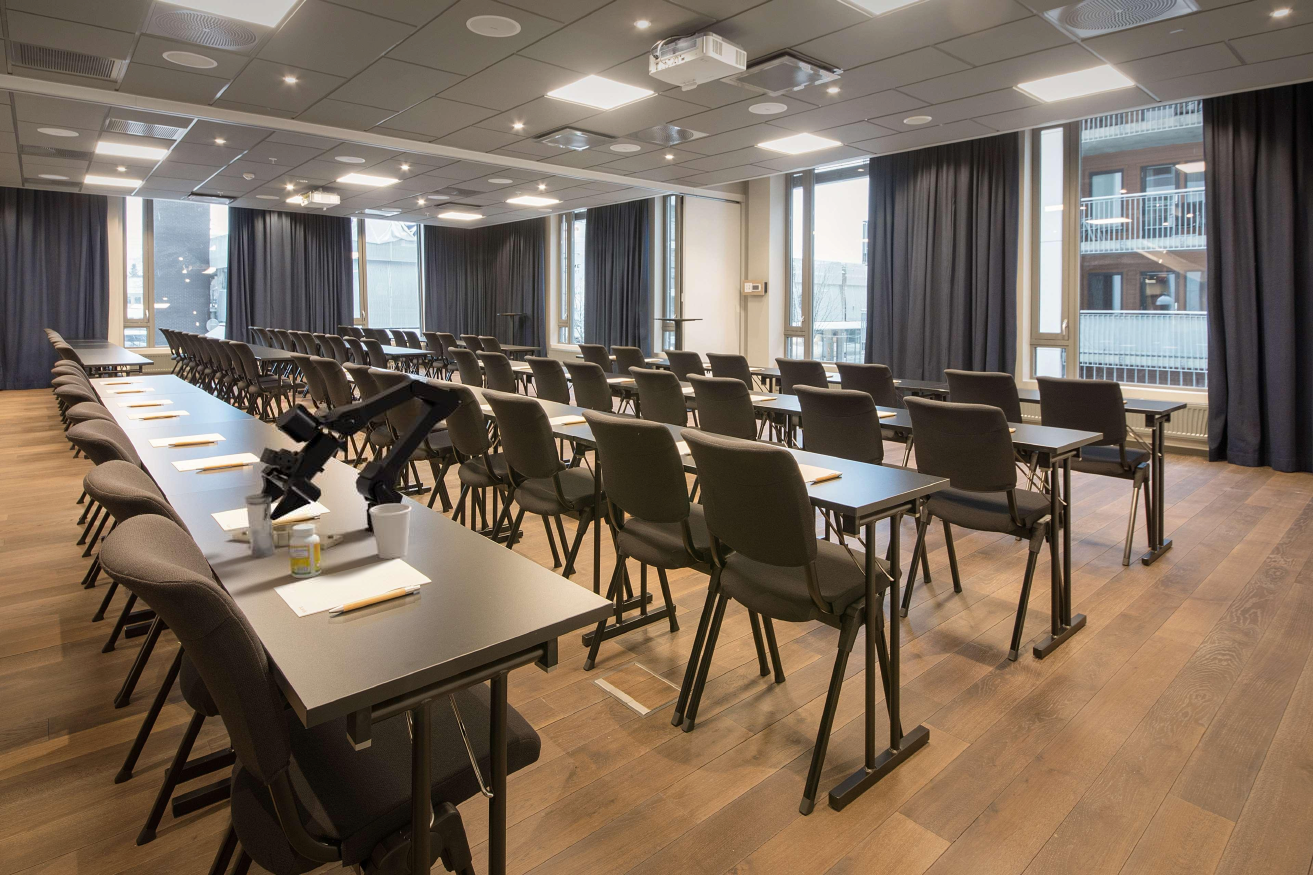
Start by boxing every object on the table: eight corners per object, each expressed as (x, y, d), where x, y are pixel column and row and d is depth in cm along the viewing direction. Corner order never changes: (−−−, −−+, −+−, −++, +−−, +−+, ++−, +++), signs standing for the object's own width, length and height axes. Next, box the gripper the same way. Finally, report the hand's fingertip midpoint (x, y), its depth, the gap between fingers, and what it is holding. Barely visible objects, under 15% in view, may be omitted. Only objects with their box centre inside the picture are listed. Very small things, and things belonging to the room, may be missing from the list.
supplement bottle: (299, 580, 146) (295, 532, 145) (286, 574, 150) (282, 526, 148) (327, 573, 150) (323, 525, 149) (313, 567, 154) (310, 520, 152)
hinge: (346, 539, 172) (345, 526, 171) (321, 550, 164) (320, 537, 163) (256, 531, 178) (255, 518, 177) (229, 541, 170) (227, 528, 170)
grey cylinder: (281, 551, 163) (276, 494, 161) (264, 559, 158) (259, 500, 156) (262, 550, 164) (257, 493, 162) (244, 556, 160) (239, 498, 158)
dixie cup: (402, 545, 168) (399, 501, 166) (420, 554, 162) (418, 508, 160) (364, 554, 162) (361, 508, 160) (382, 563, 156) (380, 515, 154)
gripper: (267, 428, 168) (216, 485, 162) (301, 438, 155) (247, 501, 149) (307, 458, 175) (259, 514, 169) (342, 471, 162) (292, 532, 156)
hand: (263, 515), depth 160 cm, fingers open, 9 cm apart
